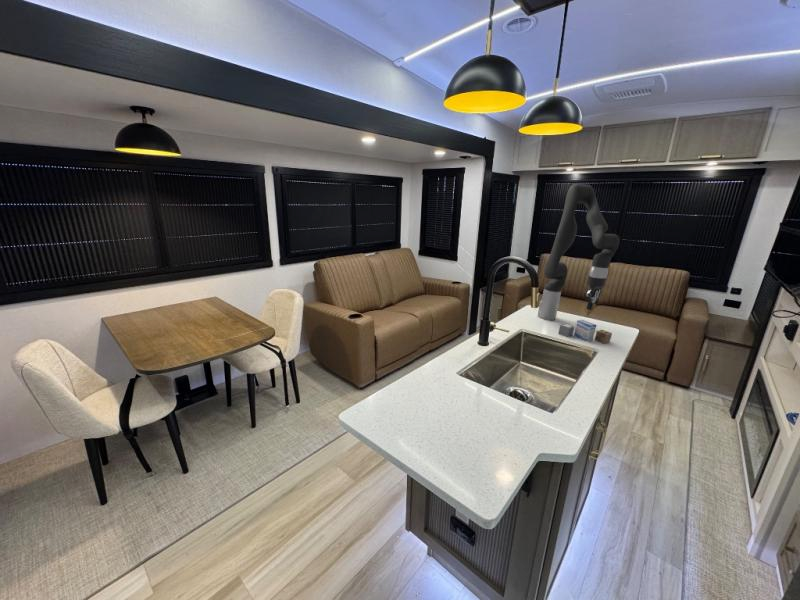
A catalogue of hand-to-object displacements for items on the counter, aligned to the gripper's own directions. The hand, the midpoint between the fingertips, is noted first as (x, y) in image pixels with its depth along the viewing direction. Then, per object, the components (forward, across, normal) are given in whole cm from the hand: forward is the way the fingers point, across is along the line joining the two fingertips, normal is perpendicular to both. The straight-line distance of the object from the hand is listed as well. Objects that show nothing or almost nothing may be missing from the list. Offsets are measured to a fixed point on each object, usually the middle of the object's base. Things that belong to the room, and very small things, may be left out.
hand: (589, 309), depth 159 cm
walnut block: (+16, -5, +7) cm, 18 cm away
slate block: (+16, +4, -7) cm, 17 cm away
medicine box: (+16, 0, 0) cm, 16 cm away
